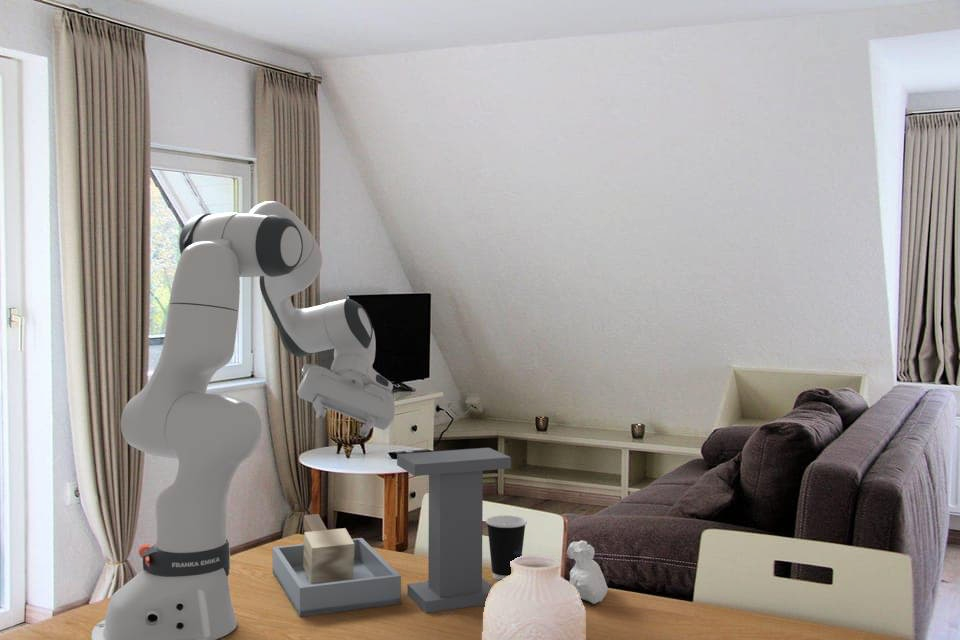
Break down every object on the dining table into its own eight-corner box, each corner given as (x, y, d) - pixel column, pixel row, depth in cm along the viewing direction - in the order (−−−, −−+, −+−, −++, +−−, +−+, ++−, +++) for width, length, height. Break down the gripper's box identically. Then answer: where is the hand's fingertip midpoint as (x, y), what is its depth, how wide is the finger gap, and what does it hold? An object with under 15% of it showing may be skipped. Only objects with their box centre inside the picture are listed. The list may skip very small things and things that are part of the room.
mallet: (310, 583, 176) (312, 548, 174) (290, 539, 193) (291, 507, 191) (352, 578, 179) (354, 543, 177) (329, 535, 196) (330, 503, 194)
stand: (414, 614, 163) (414, 464, 161) (396, 596, 172) (397, 454, 171) (509, 601, 169) (510, 457, 168) (488, 584, 179) (489, 447, 177)
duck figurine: (589, 598, 178) (553, 548, 179) (621, 575, 176) (585, 526, 177) (583, 620, 166) (544, 568, 167) (617, 597, 165) (578, 544, 166)
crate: (299, 617, 161) (299, 588, 161) (272, 572, 185) (272, 547, 185) (400, 603, 168) (400, 575, 168) (362, 562, 192) (362, 537, 192)
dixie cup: (529, 582, 180) (529, 525, 179) (488, 583, 179) (488, 526, 178) (523, 569, 188) (523, 514, 187) (483, 570, 187) (483, 515, 186)
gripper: (310, 350, 193) (299, 396, 183) (400, 386, 200) (395, 433, 189) (298, 370, 197) (287, 417, 186) (387, 405, 203) (381, 452, 192)
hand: (342, 425), depth 187 cm, fingers open, 8 cm apart
